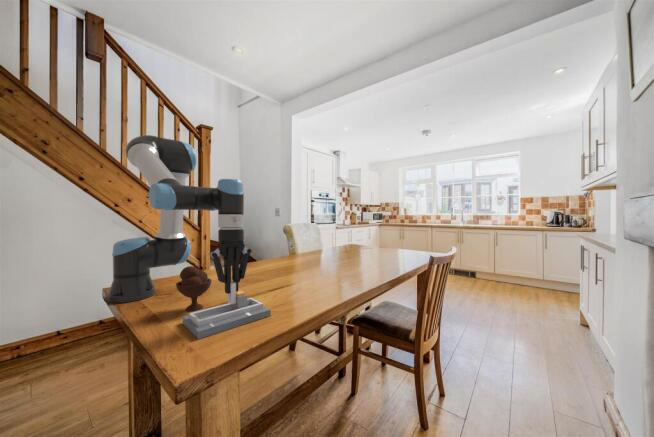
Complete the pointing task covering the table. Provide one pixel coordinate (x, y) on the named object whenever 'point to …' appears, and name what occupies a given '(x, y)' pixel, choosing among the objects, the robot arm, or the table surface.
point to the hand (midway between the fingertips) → (231, 302)
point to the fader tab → (240, 300)
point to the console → (224, 318)
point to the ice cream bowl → (193, 285)
